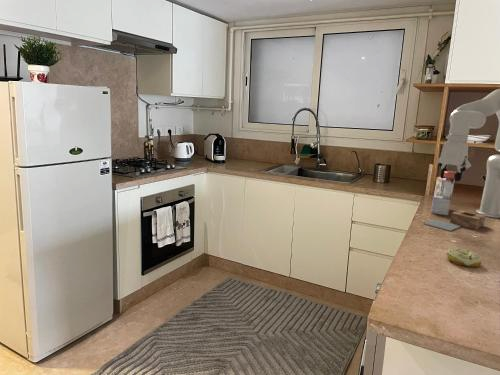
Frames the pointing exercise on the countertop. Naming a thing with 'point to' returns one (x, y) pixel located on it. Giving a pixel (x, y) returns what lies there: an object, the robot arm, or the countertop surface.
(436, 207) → the medicine box
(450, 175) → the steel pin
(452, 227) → the rubber mat
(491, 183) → the robot arm
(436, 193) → the candy bar box
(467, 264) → the decorated donut
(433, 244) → the countertop surface
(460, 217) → the eye block
